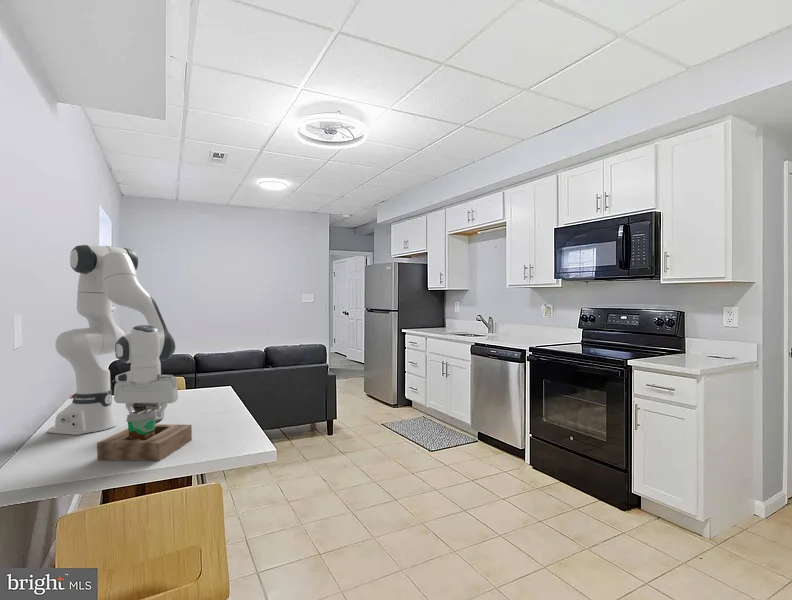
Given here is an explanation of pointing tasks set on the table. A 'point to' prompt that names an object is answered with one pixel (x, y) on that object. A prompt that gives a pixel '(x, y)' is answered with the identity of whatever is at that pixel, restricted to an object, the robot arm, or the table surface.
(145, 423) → the food container
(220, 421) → the table surface
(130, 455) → the walnut base
